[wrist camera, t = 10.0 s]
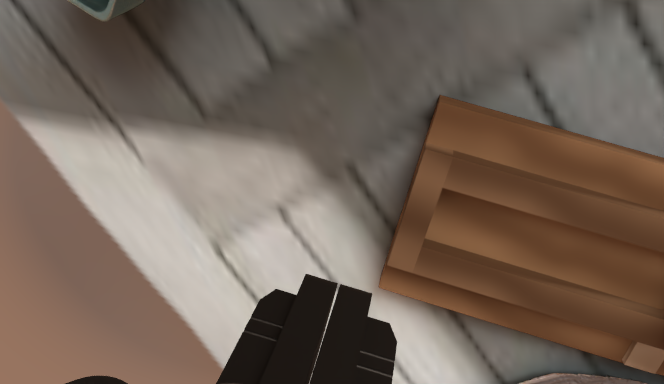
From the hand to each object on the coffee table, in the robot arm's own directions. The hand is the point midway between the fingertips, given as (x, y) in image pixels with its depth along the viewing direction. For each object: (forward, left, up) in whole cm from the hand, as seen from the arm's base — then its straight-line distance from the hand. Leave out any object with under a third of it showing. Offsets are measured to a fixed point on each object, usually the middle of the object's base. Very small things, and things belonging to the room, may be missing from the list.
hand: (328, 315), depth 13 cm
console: (+10, +17, -32) cm, 37 cm away
